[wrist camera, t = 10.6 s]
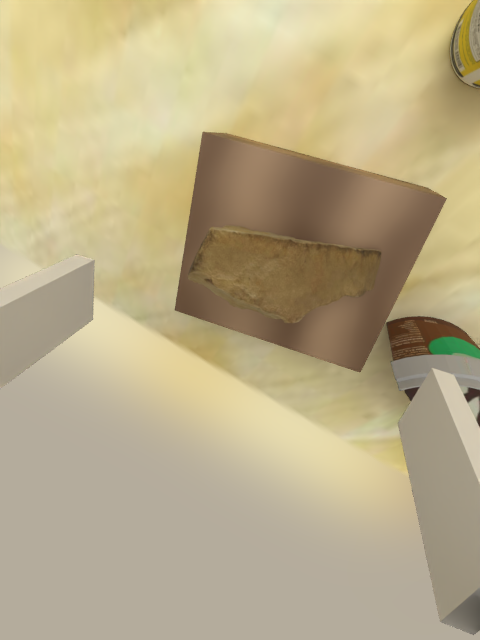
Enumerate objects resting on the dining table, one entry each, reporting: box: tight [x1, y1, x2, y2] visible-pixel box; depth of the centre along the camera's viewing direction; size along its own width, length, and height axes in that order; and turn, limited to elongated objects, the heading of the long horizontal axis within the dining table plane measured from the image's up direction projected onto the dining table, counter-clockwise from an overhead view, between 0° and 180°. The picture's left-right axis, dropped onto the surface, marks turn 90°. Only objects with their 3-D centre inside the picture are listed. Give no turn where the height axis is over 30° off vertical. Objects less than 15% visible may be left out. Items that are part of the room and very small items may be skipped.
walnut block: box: [175, 132, 447, 372], centre depth 25 cm, size 14×12×5 cm
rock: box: [188, 225, 382, 323], centre depth 20 cm, size 11×9×10 cm
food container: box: [387, 316, 480, 427], centre depth 24 cm, size 12×6×10 cm, turn 32°
